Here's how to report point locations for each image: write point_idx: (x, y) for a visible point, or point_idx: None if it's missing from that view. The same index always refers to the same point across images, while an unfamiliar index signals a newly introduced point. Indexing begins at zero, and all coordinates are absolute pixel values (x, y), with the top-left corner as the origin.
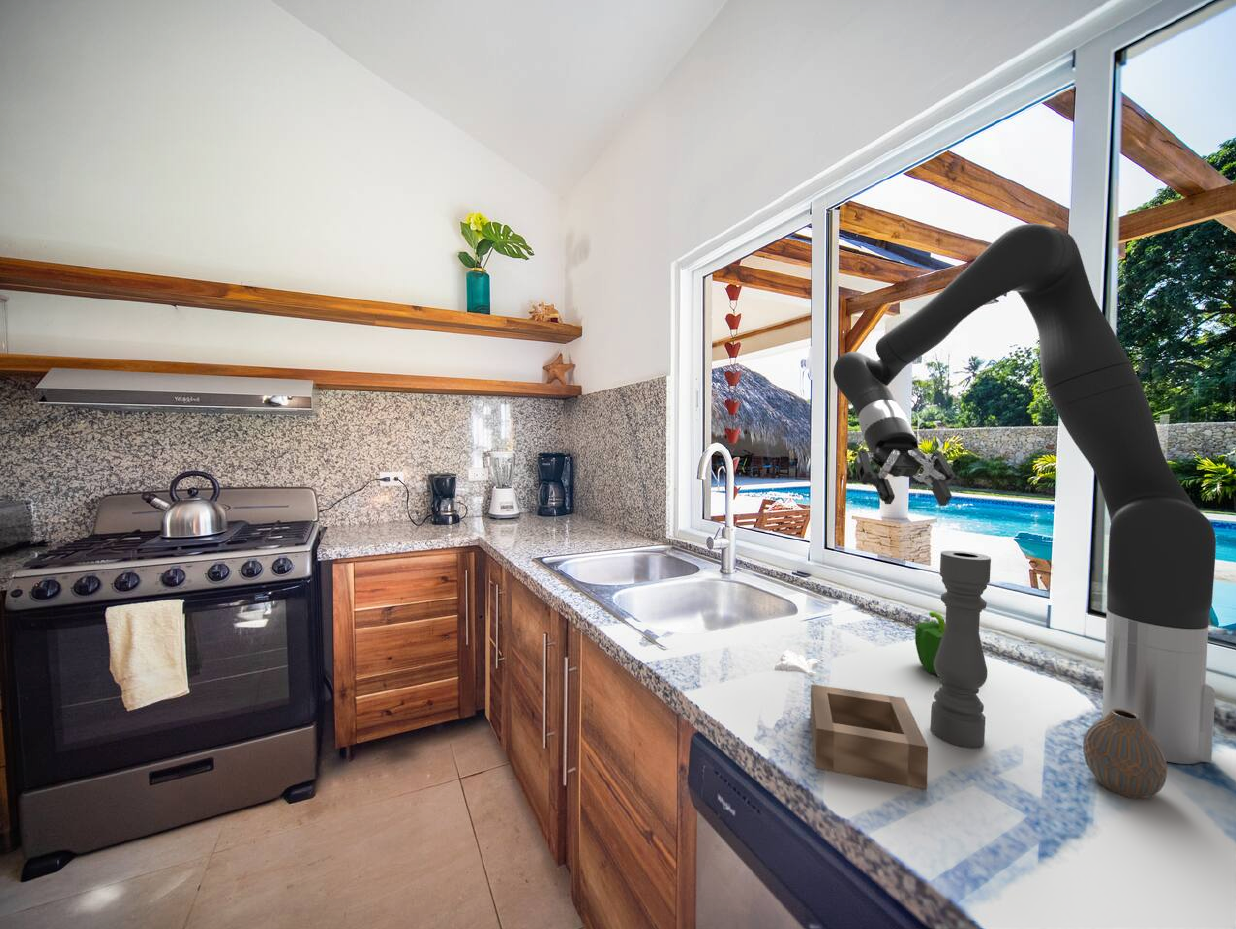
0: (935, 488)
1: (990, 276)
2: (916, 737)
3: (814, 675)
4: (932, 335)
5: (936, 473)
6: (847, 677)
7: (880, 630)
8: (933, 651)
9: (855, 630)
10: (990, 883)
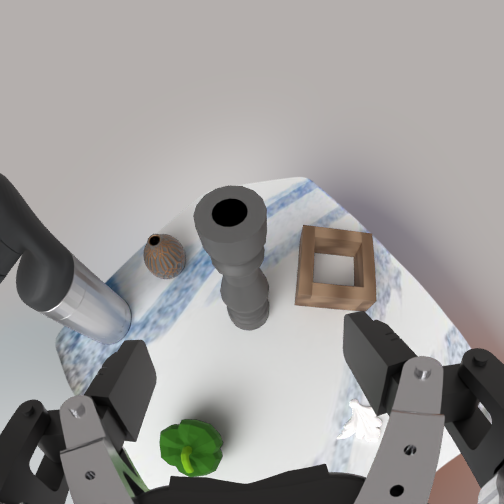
0: (130, 411)
1: None
2: (307, 235)
3: (352, 399)
4: None
5: (80, 427)
6: (317, 407)
7: None
8: (212, 427)
9: None
10: (292, 189)
